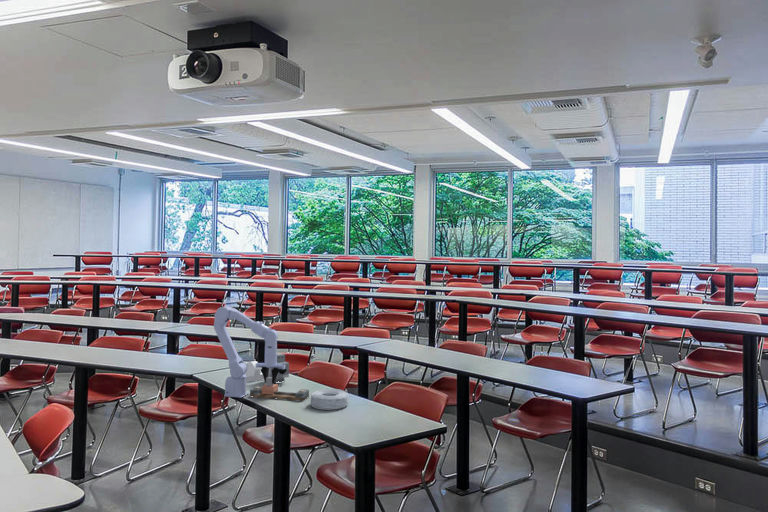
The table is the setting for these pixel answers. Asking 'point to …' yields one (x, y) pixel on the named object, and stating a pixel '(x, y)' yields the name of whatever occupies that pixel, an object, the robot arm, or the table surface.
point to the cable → (329, 399)
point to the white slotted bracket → (253, 372)
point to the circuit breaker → (282, 372)
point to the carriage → (269, 387)
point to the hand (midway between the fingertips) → (270, 383)
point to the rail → (280, 394)
